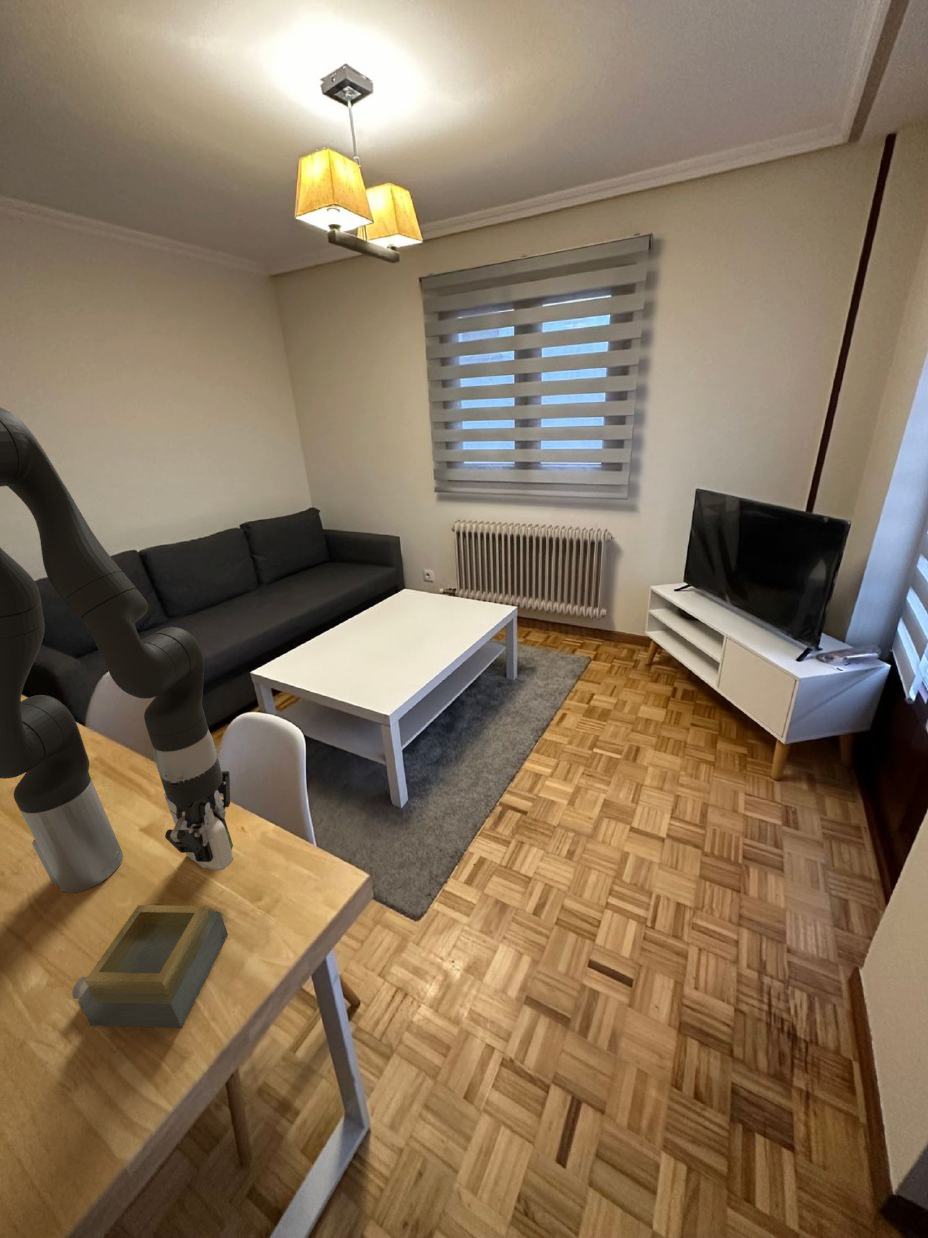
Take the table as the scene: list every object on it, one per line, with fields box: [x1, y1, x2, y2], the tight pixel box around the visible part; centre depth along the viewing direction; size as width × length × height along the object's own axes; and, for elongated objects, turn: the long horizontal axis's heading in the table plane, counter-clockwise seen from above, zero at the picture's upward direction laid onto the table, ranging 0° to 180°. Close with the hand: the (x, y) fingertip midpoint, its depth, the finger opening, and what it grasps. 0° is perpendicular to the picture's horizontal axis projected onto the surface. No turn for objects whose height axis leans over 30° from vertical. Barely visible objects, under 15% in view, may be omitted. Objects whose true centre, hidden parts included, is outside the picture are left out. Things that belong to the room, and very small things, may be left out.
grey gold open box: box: [71, 904, 229, 1029], centre depth 65 cm, size 15×12×8 cm
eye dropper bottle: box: [195, 808, 234, 871], centre depth 75 cm, size 4×6×12 cm
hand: (213, 848), depth 76 cm, fingers closed on eye dropper bottle, 3 cm apart
